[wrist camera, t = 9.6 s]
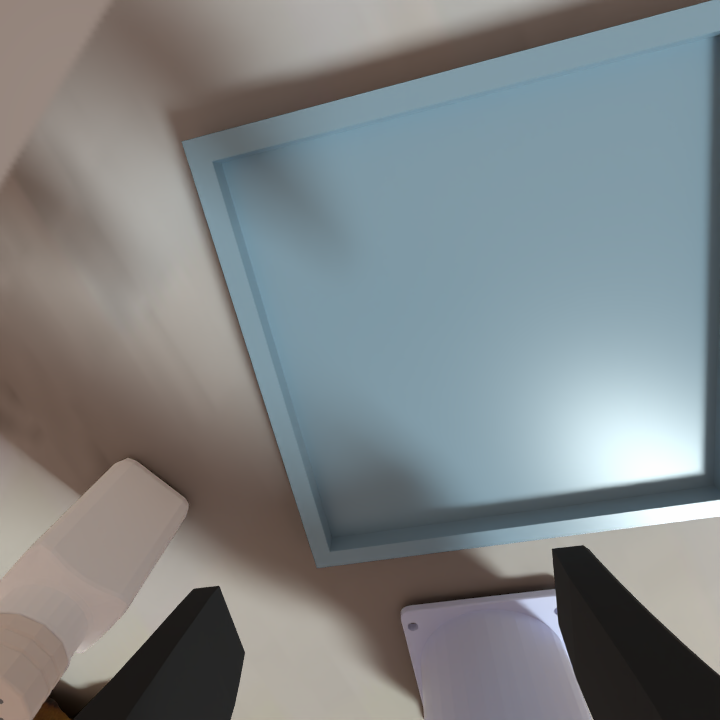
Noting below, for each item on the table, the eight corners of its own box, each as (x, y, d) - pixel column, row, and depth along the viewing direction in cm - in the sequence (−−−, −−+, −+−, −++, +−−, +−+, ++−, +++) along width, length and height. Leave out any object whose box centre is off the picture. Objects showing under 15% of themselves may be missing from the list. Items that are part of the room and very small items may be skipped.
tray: (724, 490, 20) (749, 512, 19) (321, 544, 23) (317, 568, 21) (742, 2, 14) (780, -18, 13) (199, 145, 17) (181, 141, 15)
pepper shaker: (198, 500, 22) (68, 709, 13) (151, 547, 23) (3, 768, 14) (129, 447, 21) (-58, 632, 13) (84, 498, 23) (-116, 700, 14)
